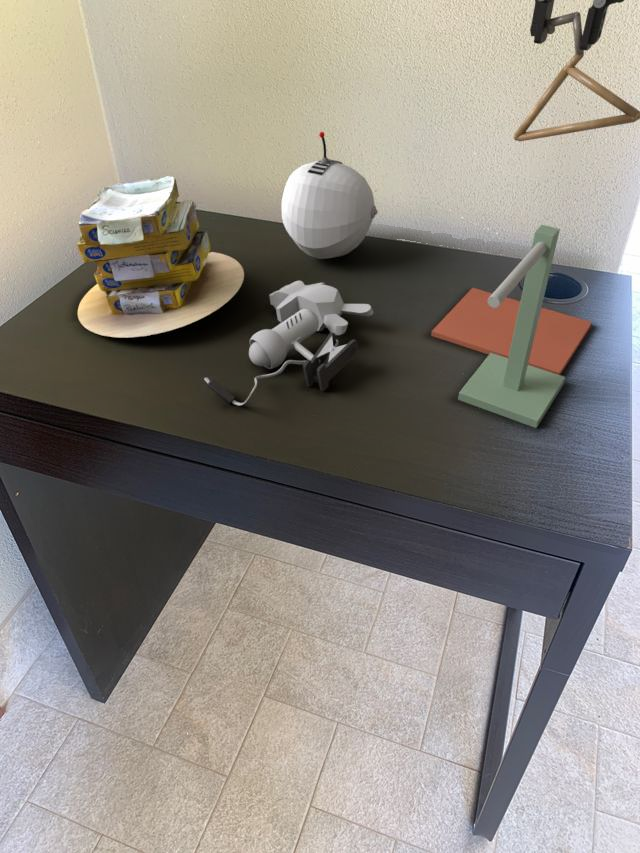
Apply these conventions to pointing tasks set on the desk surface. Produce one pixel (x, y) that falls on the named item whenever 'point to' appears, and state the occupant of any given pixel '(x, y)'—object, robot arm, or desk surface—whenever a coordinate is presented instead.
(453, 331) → the mat
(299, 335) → the clip-on lamp
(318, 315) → the bunny figurine
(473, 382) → the hook stand
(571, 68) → the hanger
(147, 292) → the stacked boxes on plate
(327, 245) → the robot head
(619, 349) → the desk surface
